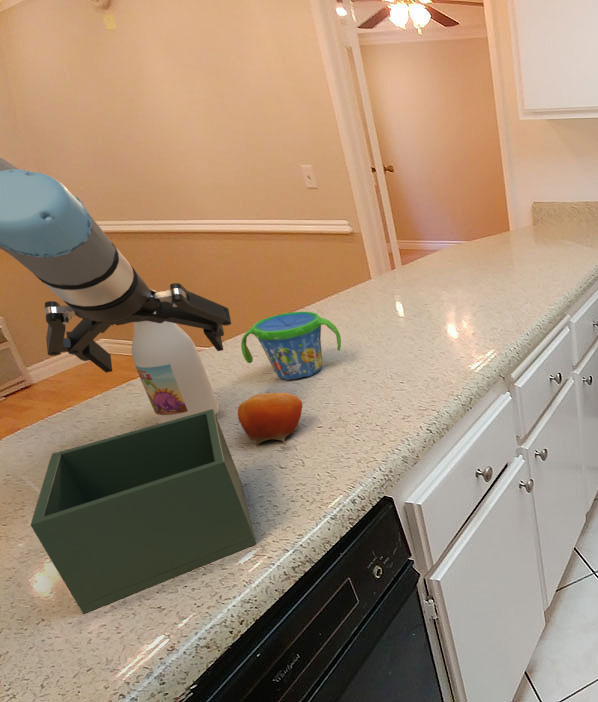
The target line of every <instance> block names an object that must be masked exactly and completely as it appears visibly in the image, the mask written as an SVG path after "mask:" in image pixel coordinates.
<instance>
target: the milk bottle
mask: <svg viewBox="0 0 598 702" xmlns="http://www.w3.org/2000/svg"><path fill="white" fill-rule="evenodd" d="M153 314H156V311H155V312H154V313H153ZM132 323H133V335H132V336H133V337H132V342H131V356H132V361H133V364H134V366H135V368H136V371H137V375H138V377H139V378H140V381H141V383H142V386H143V388H144V391H145V393H146V395H147V398H148V400H149V402H150V405H151V407H152V409H153V411H154V414H155V416H156V418H157V421H158V422H159V423H158V424H161V423H164V422H168V421H172V420H175V419H179V418H182V417H186V416H190V415H193V414H197V413H200V412H204V411H207V410H211V409H214V412H215V415H216V416H217V415H218V413H219V409H220V406H219V404H218V401H217V398H216V394H215V392H214V389H213V387H212V384H211V382H210V379H209V377H208V374H207V371H206V368H205V366H204V363H203V361H202V359H201V356H200V353H199V351H198V349H197V347H196V345H195V343H194V341H193V340H192V338H191V337H190V336H189V334H188V333H186V332H185V330H183V328H181V326H179V324H177V323H172V322H167V321H164V322H163V323H156V322H150V321H141V322H132Z"/></svg>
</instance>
